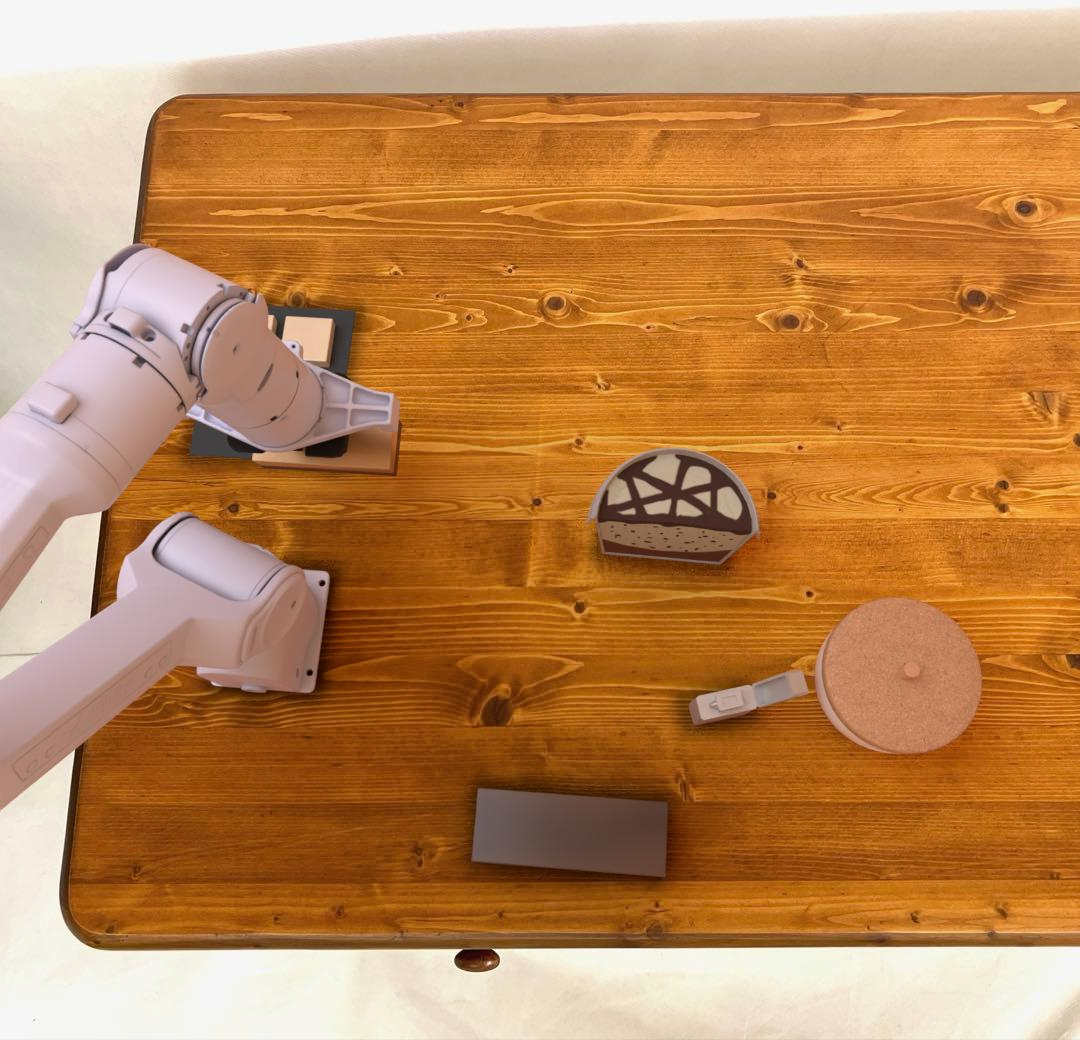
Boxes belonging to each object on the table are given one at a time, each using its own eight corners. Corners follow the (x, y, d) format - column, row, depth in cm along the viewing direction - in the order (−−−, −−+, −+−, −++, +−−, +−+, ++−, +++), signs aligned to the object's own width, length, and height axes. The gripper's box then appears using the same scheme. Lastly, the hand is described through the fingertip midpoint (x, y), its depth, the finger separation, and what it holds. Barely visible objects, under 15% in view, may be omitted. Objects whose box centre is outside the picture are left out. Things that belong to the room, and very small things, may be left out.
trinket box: (936, 772, 72) (990, 765, 63) (790, 745, 73) (823, 735, 64) (944, 630, 75) (997, 605, 66) (805, 606, 76) (838, 578, 67)
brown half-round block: (742, 492, 79) (768, 447, 69) (739, 566, 77) (765, 531, 67) (589, 479, 79) (594, 432, 70) (583, 552, 78) (587, 514, 68)
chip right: (329, 367, 82) (326, 361, 81) (282, 365, 82) (278, 358, 81) (335, 325, 83) (332, 318, 82) (289, 322, 83) (285, 315, 82)
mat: (334, 465, 80) (333, 463, 80) (190, 456, 80) (188, 454, 80) (356, 312, 84) (355, 310, 84) (218, 304, 84) (217, 302, 84)
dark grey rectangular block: (656, 872, 71) (665, 877, 65) (477, 858, 71) (470, 861, 65) (659, 803, 72) (668, 802, 66) (483, 789, 72) (477, 787, 67)
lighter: (693, 726, 74) (709, 715, 66) (687, 703, 74) (703, 690, 66) (784, 705, 74) (811, 692, 66) (778, 683, 74) (803, 667, 67)
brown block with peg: (396, 476, 71) (368, 451, 63) (264, 468, 72) (220, 442, 64) (402, 423, 72) (375, 391, 64) (270, 415, 73) (227, 383, 65)
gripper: (381, 319, 56) (428, 389, 69) (139, 307, 57) (230, 378, 71) (368, 440, 55) (418, 486, 68) (121, 424, 56) (217, 473, 69)
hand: (322, 438), depth 69 cm, fingers closed on brown block with peg, 2 cm apart
